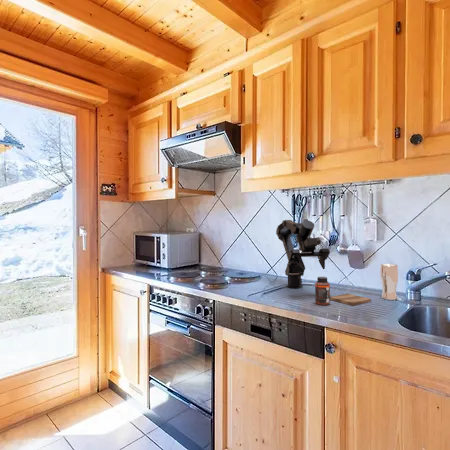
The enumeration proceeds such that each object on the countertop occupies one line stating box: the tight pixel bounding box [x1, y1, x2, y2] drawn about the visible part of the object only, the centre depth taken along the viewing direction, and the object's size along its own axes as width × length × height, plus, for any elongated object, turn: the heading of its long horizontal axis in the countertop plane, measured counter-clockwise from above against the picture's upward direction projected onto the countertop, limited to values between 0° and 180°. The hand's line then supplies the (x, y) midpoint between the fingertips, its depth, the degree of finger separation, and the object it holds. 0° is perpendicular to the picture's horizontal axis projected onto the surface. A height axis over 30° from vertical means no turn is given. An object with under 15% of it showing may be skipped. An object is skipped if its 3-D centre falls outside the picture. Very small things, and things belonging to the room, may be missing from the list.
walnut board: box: [330, 293, 372, 307], centre depth 134 cm, size 12×12×1 cm
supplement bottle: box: [314, 276, 331, 306], centre depth 130 cm, size 6×6×11 cm
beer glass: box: [379, 263, 399, 301], centre depth 137 cm, size 7×7×15 cm
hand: (314, 269), depth 138 cm, fingers open, 9 cm apart
